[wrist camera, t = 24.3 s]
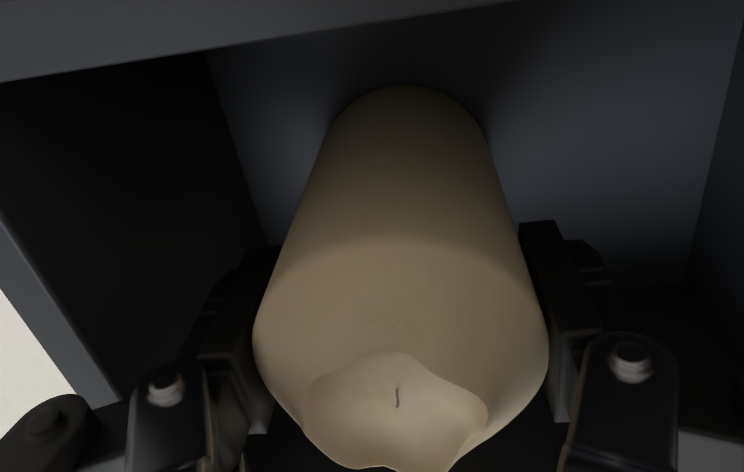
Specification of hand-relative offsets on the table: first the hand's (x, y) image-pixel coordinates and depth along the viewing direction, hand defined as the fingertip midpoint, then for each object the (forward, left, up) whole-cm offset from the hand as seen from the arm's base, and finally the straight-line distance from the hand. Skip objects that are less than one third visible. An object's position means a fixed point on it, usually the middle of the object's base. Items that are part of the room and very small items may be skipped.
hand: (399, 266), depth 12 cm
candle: (0, 0, -6) cm, 6 cm away
